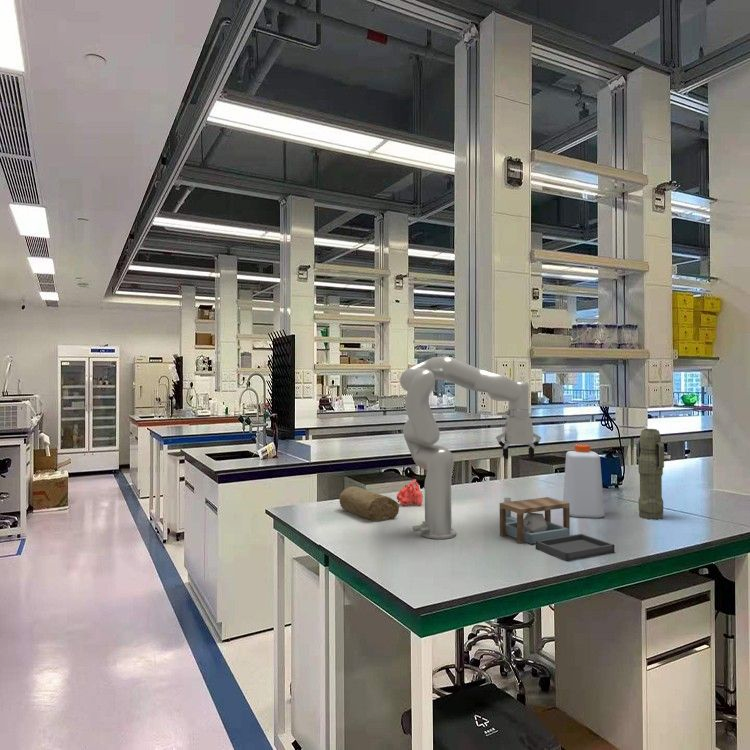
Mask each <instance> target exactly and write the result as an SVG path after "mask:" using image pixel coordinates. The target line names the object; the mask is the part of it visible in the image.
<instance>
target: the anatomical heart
mask: <svg viewBox="0 0 750 750" xmlns="http://www.w3.org/2000/svg"><path fill="white" fill-rule="evenodd" d="M415 485H416V486H415ZM423 497H424V495H423V492H422V491H421V490H420V485H419V482H417V479H412V481H410V483H409V484H408V483H406V484H404V487H403V488H401V489H400V490H399V491H398V493H397V494H396V501H397V503H400V504H399V505H401V506H409V505H410V504H414V505H415V504H417V506H418V507H420V506H422V505H423Z"/></svg>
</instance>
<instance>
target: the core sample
mask: <svg viewBox="0 0 750 750" xmlns="http://www.w3.org/2000/svg"><path fill="white" fill-rule="evenodd" d="M338 500H339V504H340V507H341V509H342V510H345V511H347V512H350V513H352V514H354V515H357V516H358V517H359V516H360V517H362V518H365V519H368V520H369V521H373V522H383V521H390V520H393V519H395V518H396V517H397V515H398V514H399V511H400V504H399V502H398V501H397V500H395V499H393V498H392V497H391V496H386V495H383V494H380V493H377V492H374V491H370V490H368V489H365V488H361V487H357V486H348V487H346V488H345V489H343V490H342V492H340V494H339V499H338Z"/></svg>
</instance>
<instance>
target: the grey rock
mask: <svg viewBox="0 0 750 750" xmlns="http://www.w3.org/2000/svg"><path fill="white" fill-rule="evenodd" d="M523 526H524V531H527V532H529V533H536V532H542V531H546V529H547V528H548V527H547V524H546V521H545V515H544V514H543V513H538V512H531V513H526V515H525V516H524V517H523Z"/></svg>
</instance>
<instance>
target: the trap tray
mask: <svg viewBox="0 0 750 750" xmlns="http://www.w3.org/2000/svg"><path fill="white" fill-rule="evenodd" d="M534 544H535V550H538V551H541V552H543V553H546V554H548V555H550V556H553V557H555V558H558V559H560V560H563V561H565V562H570V561H576V560H581V559H586V558H591V557H597V555H598V556H603V555H607V553H608V554H614V553H615V544H614V543H611V542H608V541H604V540H601V539H598V538H595V537H592V536H590V535H586V534H583V533H578V534H572V535H570V536H565V537H559V538H553V539H546V540H540V541H535V543H534ZM602 554H603V555H602Z"/></svg>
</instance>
